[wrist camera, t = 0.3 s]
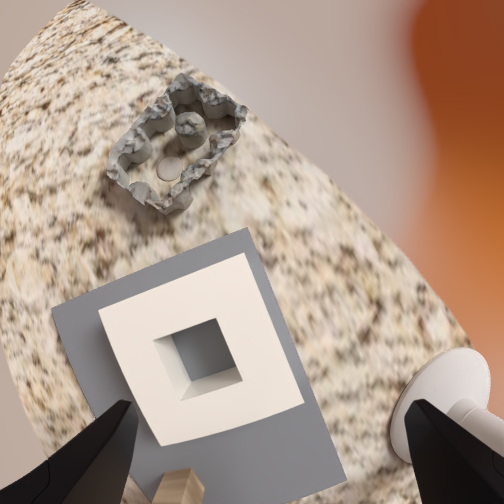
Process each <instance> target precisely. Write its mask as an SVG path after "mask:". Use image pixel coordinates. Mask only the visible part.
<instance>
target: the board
mask: <svg viewBox="0 0 504 504" xmlns="http://www.w3.org/2000/svg"><path fill="white" fill-rule="evenodd" d="M242 253H245V256H246V258H247V261H248V264H249V266H250V269H251V271H252V274H253V276H254V279H255V281H256V284H257V286H258V289H259V291H260V294H261V296H262V299H263V301H264V304H265V306H266V309H267V311H268V314H269V316H270V319H271V321H272V324H273V326H274V329H275V331H276V333H277V336H278V338H279V341H280V343H281V346H282V348H283V351H284V353H285V356H286V358H287V361H288V363H289V366H290V368H291V371H292V373H293V375H294V378H295V380H296V383H297V385H298V388H299V390H300V393H301V395H302V398H303V400H304V402H305V403H303V404H300V405H298V406H295V407H293V408H290V409H288V410H285V411H283V412H280V413H277V414H274V415H272V416H269V417H266V418H263V419H260V420H258V421H255V422H252V423H249V424H245V425H242V426H239V427H236V428H233V429H229V430H226V431H223V432H219V433H215V434H212V435H208V436H204V437H200V438H196V439H192V440H188V441H184V442H180V443H175V444H170V445H165V446H161V445H160V444H159V442H158V440H157V438H156V437H155V435H154V433H153V431H152V430H151V428H150V426H149V424H148V422H147V421H146V419H145V417H144V415H143V413H142V411H141V409H140V407H139V405H138V403H137V401H136V399H135V397H134V395H133V393H132V391H131V389H130V387H129V385H128V383H127V381H126V379H125V376H124V374H123V372H122V370H121V367H120V365H119V363H118V361H117V358H116V356H115V353H114V351H113V349H112V346H111V344H110V341H109V339H108V336H107V333H106V331H105V328H104V326H103V323H102V320H101V317H100V314H99V312H98V310H100V309H103V308H105V307H108V306H110V305H113V304H115V303H118V302H120V301H123V300H125V299H128V298H130V297H133V296H135V295H138V294H140V293H143V292H145V291H148V290H150V289H153V288H155V287H158V286H161V285H163V284H166V283H168V282H171V281H173V280H176V279H178V278H181V277H183V276H186V275H188V274H191V273H193V272H196V271H198V270H201V269H204V268H206V267H209V266H211V265H214V264H216V263H219V262H221V261H224V260H226V259H229V258H231V257H234V256H236V255H239V254H242ZM51 311H52V314H53V317H54V320H55V323H56V326H57V329H58V332H59V335H60V338H61V340H62V343H63V346H64V349H65V351H66V354H67V356H68V359H69V361H70V364H71V366H72V369H73V371H74V373H75V376H76V378H77V380H78V382H79V385H80V387H81V389H82V391H83V393H84V395H85V397H86V399H87V401H88V403H89V405H90V407H91V409H92V411H93V413H94V415H95V417H96V419H97V418H98V417H99V416H100V415H102V414H103V413H104V412H105V411H106V410H107V409H109V408H110V407H111V406H112V405H113V404H115V403H116V402H117V401H118V400H120V399H126V400H131V401H133V403H134V405H135V408H136V411H137V413H138V416H139V424H138V429H137V435H136V441H135V447H134V453H133V459H132V463H131V467H130V470H129V474H130V475H131V476H132V478H133V479H134V481H135V482H136V484H137V485H138V486H139V488H140V489H141V490H142V492H143V493H144V494H145V496H146V497H147V498H148V500H149V501H150V502H151V503H152V501H153V499H154V497H155V494H156V492H157V490H158V487H159V485H160V483H161V481H162V478H163V476H164V474H165V472H168V471H174V470H180V469H185V468H190V467H192V469H193V470H194V472H195V473H196V475H197V476H198V478H199V479H200V481H201V482H202V484H203V485H204V487H205V489H204V494H203V499H202V504H284V503H288V502H291V501H294V500H297V499H300V498H303V497H306V496H309V495H311V494H314V493H317V492H319V491H322V490H325V489H327V488H330V487H332V486H335V485H337V484H339V483H342V482H344V481H346V480H347V478H346V475H345V473H344V470H343V468H342V465H341V463H340V460H339V457H338V455H337V452H336V450H335V447H334V445H333V442H332V439H331V437H330V434H329V432H328V429H327V427H326V424H325V421H324V419H323V416H322V414H321V411H320V409H319V406H318V404H317V401H316V399H315V396H314V393H313V391H312V388H311V386H310V383H309V381H308V378H307V376H306V373H305V371H304V368H303V366H302V363H301V360H300V358H299V355H298V353H297V350H296V348H295V345H294V343H293V340H292V338H291V335H290V333H289V330H288V328H287V325H286V323H285V320H284V318H283V315H282V313H281V310H280V307H279V305H278V302H277V300H276V297H275V295H274V292H273V290H272V287H271V285H270V282H269V280H268V277H267V275H266V272H265V270H264V267H263V265H262V262H261V260H260V257H259V255H258V252H257V250H256V247H255V245H254V242H253V240H252V237H251V235H250V232H249V230H248V228H247V227H246V228H244V229H241V230H239V231H236V232H233V233H231V234H228V235H226V236H223V237H221V238H218V239H216V240H213V241H211V242H208V243H206V244H203V245H201V246H198V247H196V248H193V249H191V250H188V251H186V252H183V253H181V254H178V255H176V256H173V257H171V258H168V259H166V260H163V261H161V262H159V263H156V264H154V265H151V266H149V267H146V268H144V269H142V270H139V271H137V272H134V273H132V274H130V275H127V276H125V277H123V278H120V279H118V280H115V281H113V282H111V283H108V284H106V285H104V286H101V287H99V288H97V289H94V290H92V291H90V292H87V293H85V294H83V295H81V296H78V297H76V298H74V299H71V300H69V301H67V302H65V303H62V304H60V305H58V306H55V307H53V308H51ZM171 336H172V339H173V341H174V344H175V346H176V348H177V351H178V353H179V355H180V358H181V360H182V362H183V364H184V367H185V369H186V371H187V373H188V375H189V377H190V380H191V381H194V380H197V379H200V378H203V377H206V376H210V375H213V374H215V373H218V372H221V371H224V370H227V369H230V368H233V367H236V364H235V361H234V359H233V357H232V355H231V352H230V350H229V347H228V345H227V343H226V340H225V338H224V336H223V333H222V331H221V328H220V326H219V324H218V321H217V319H216V318H213V319H210V320H208V321H205V322H202V323H200V324H197V325H194V326H192V327H189V328H186V329H183V330H180V331H178V332H175V333H172V334H171Z"/></svg>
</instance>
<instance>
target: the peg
mask: <svg viewBox="0 0 504 504" xmlns="http://www.w3.org/2000/svg"><path fill="white" fill-rule="evenodd" d="M204 489H205V487H204V485H203V484H202V482H201V481H200V479H199V478H198V476H197V475H196V473H195V472H194V470H193V469H192V467H190V468H185V469H180V470H174V471H168V472H165V474H164V476H163V478H162V481H161V483H160V485H159V487H158V490H157V492H156V494H155V497H154V499H153V501H152V503H151V504H202V499H203V494H204Z"/></svg>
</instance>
